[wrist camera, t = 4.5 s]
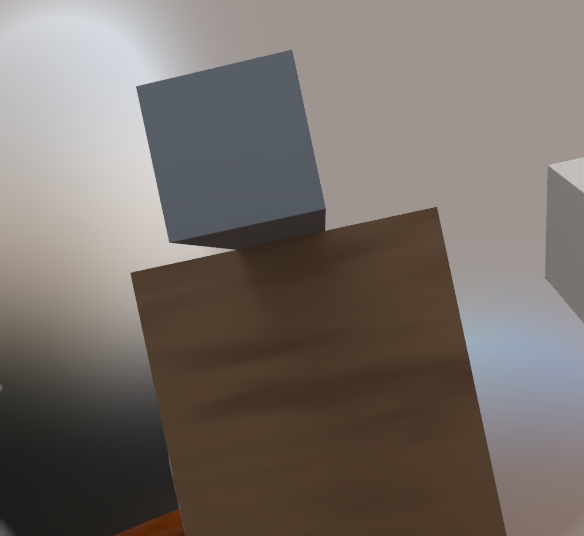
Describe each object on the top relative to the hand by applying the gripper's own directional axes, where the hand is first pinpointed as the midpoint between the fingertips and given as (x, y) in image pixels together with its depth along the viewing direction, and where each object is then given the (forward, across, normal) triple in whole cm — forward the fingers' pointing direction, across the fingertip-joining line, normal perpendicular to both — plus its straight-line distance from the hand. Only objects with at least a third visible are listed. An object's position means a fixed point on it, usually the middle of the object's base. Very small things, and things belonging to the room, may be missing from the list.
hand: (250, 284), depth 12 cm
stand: (+5, 0, +36) cm, 36 cm away
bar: (+15, 0, +7) cm, 17 cm away
